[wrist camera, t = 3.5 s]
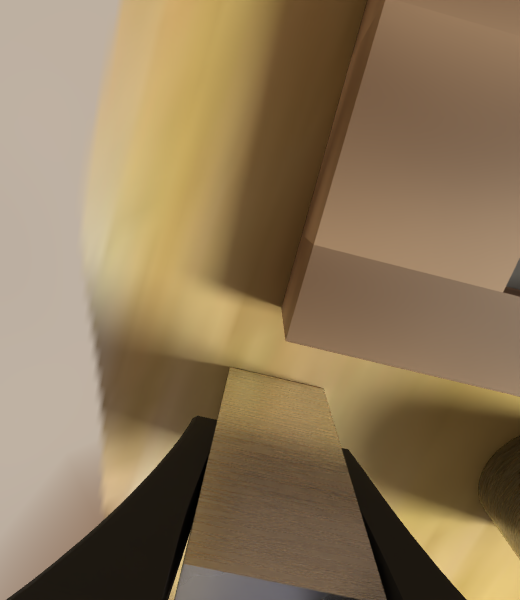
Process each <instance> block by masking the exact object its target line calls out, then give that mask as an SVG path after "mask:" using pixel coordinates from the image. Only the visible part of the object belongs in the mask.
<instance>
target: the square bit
mask: <svg viewBox="0 0 520 600" xmlns="http://www.w3.org/2000/svg"><path fill="white" fill-rule="evenodd" d="M174 600H387V599H386V596H385V592H384V589H383V586H382V582H381V579H380V576H379V572H378V569H377V566H376V562H375V559H374V556H373V552H372V549H371V546H370V542H369V539H368V536H367V532H366V529H365V525H364V522H363V519H362V515H361V512H360V509H359V505H358V502H357V499H356V495H355V492H354V489H353V485H352V482H351V479H350V475H349V472H348V469H347V465H346V462H345V459H344V455H343V452H342V449H341V445H340V442H339V438H338V435H337V432H336V428H335V425H334V422H333V418H332V415H331V412H330V408H329V405H328V402H327V398H326V395H325V392H324V389H322V388H318V387H314V386H309V385H305V384H301V383H297V382H292V381H288V380H284V379H279V378H275V377H271V376H266V375H262V374H258V373H253V372H249V371H245V370H240V369H236V368H232V367H230V370H229V374H228V378H227V382H226V386H225V390H224V394H223V398H222V402H221V406H220V411H219V415H218V419H217V424H216V429H215V433H214V437H213V441H212V446H211V450H210V454H209V458H208V462H207V466H206V470H205V474H204V478H203V482H202V487H201V491H200V495H199V499H198V503H197V507H196V511H195V515H194V519H193V523H192V527H191V531H190V536H189V540H188V544H187V548H186V552H185V557H184V561H183V565H182V569H181V573H180V578H179V582H178V586H177V590H176V594H175V599H174Z"/></svg>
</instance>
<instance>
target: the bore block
mask: <svg viewBox="0 0 520 600" xmlns="http://www.w3.org/2000/svg"><path fill="white" fill-rule="evenodd" d="M282 316H283V324H284V332H285V340H286V341H288V342H292V343H296V344H300V345H304V346H309V347H313V348H317V349H321V350H326V351H330V352H334V353H338V354H342V355H347V356H351V357H355V358H359V359H363V360H368V361H372V362H376V363H380V364H384V365H389V366H393V367H397V368H401V369H406V370H410V371H414V372H418V373H422V374H427V375H431V376H435V377H439V378H443V379H448V380H452V381H456V382H460V383H465V384H469V385H473V386H477V387H481V388H486V389H490V390H494V391H498V392H502V393H507V394H511V395H515V396H519V397H520V0H367V3H366V7H365V10H364V14H363V18H362V21H361V25H360V28H359V32H358V36H357V39H356V43H355V46H354V50H353V53H352V57H351V61H350V64H349V68H348V71H347V75H346V78H345V82H344V86H343V89H342V93H341V96H340V100H339V104H338V107H337V111H336V114H335V118H334V121H333V125H332V129H331V132H330V136H329V139H328V143H327V147H326V150H325V154H324V157H323V161H322V164H321V168H320V172H319V175H318V179H317V182H316V186H315V190H314V193H313V197H312V200H311V204H310V207H309V211H308V215H307V218H306V222H305V225H304V229H303V232H302V236H301V240H300V243H299V247H298V250H297V254H296V258H295V261H294V265H293V268H292V272H291V275H290V279H289V283H288V286H287V290H286V293H285V297H284V301H283V304H282Z"/></svg>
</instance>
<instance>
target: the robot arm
mask: <svg viewBox="0 0 520 600" xmlns="http://www.w3.org/2000/svg"><path fill="white" fill-rule="evenodd" d="M216 424H217V420H214V419H210V418H205V417H201V416H196V417H194V418H193V419H192V421H191V423H190V424H189V426H188V427H187V429H186V430H185V432H184V433H183V435H182V436H181V437H180V439H179V440H178V441H177V443H176V444H175V445H174V447H173V448H172V449H171V450H170V451H169V453H168V454H167V455H166V456H165V457H164V459H163V460H162V461H161V462H160V463H159V464H158V466H157V467H156V468H155V469H154V470H153V471H152V472H151V473H150V475H149V476H148V477H147V478H146V479H145V480H144V481H143V482H142V483H141V484H140V485H139V486H138V487H137V488H136V489H135V490H134V491H133V492H132V493H131V494H130V495H129V496H128V497H127V498H126V499H125V500H124V501H123V502H122V503H121V504H120V505H119V506H118V507H117V508H116V509H115V510H114V511H113V512H112V513H111V514H110V515H109V516H108V517H107V518H106V519H104V520H103V521H102V522H101V523H100V524H99V525H98V526H97V527H96V528H95V529H93V530H92V531H91V532H90V533H89V534H88V535H87V536H85V537H84V538H83V539H82V540H81V541H80V542H79V543H77V544H76V545H75V546H74V547H72V548H71V549H70V550H69V551H68V552H67V553H65V554H64V555H63V556H62V557H61V558H59V559H58V560H57V561H56V562H55V563H53V564H52V565H51V566H50V567H48V568H47V569H46V570H45V571H43V572H42V573H41V574H40V575H38V576H37V577H36V578H35V579H33V580H32V581H31V582H29V583H28V584H27V585H25V586H24V587H23V588H22V589H20V590H19V591H17V592H16V593H15V594H13V595H12V596H11V597H9V598H8V599H7V600H168V599H169V595H170V592H171V589H172V586H173V583H174V580H175V577H176V574H177V571H178V568H179V565H180V562H181V559H182V555H183V552H184V549H185V546H186V543H187V540H188V537H189V534H190V531H191V527H192V523H193V519H194V515H195V511H196V507H197V503H198V499H199V495H200V491H201V487H202V482H203V478H204V474H205V470H206V466H207V462H208V458H209V454H210V450H211V446H212V441H213V437H214V433H215V429H216ZM341 449H342V452H343V455H344V459H345V462H346V465H347V469H348V472H349V475H350V479H351V482H352V485H353V489H354V492H355V495H356V499H357V502H358V505H359V509H360V512H361V515H362V519H363V522H364V525H365V529H366V532H367V536H368V539H369V542H370V546H371V549H372V552H373V556H374V559H375V562H376V566H377V569H378V572H379V576H380V579H381V582H382V586H383V589H384V592H385V596H386V599H387V600H466V599H465V598H464V596H463V595H462V594H461V593H460V592H459V591H458V590H457V589H456V588H455V587H454V585H453V584H452V583H451V582H450V581H449V580H448V579H447V577H446V576H445V575H444V574H443V573H442V572H441V570H440V569H439V568H438V567H437V566H436V564H435V563H434V562H433V561H432V560H431V558H430V557H429V556H428V555H427V553H426V552H425V551H424V550H423V548H422V547H421V546H420V545H419V544H418V542H417V541H416V540H415V539H414V537H413V536H412V535H411V534H410V532H409V531H408V530H407V528H406V527H405V526H404V525H403V523H402V522H401V521H400V519H399V518H398V517H397V515H396V514H395V513H394V511H393V510H392V509H391V507H390V506H389V505H388V503H387V502H386V501H385V499H384V498H383V497H382V495H381V494H380V492H379V491H378V490H377V488H376V487H375V486H374V484H373V483H372V481H371V480H370V479H369V477H368V476H367V474H366V473H365V472H364V470H363V469H362V467H361V466H360V465H359V463H358V462H357V461H356V459H355V458H354V456H353V455H352V454H351V453H350V451H349V450H348V449H344V448H341Z"/></svg>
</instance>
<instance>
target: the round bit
mask: <svg viewBox="0 0 520 600" xmlns="http://www.w3.org/2000/svg"><path fill="white" fill-rule="evenodd" d="M478 490H479V498H480V502H481V504H482V506H483V508H484V510H485V511H486V513H487V514H488V515H489V517H490V518H491V520H492V521H493V522H494V524H495V525H496V527H497V528H498V529H499V531H500V532H501V534H502V535H503V537H504V538H505V539H506V541H507V542H508V544H509V545H510V546H511V548H512V549H513V551H514V552H515V553H516V555H517V556H518V558H519V559H520V436H518V437H516V438H514V439H513V440H511V441H510V442H508V443H507V444H505V445H504V446H503V447H501V448H500V449H499V450H498V451H497V452H496V453H495V454H494V455H493V456H492V458H491V459H490V460H489V461H488V463H487V464H486V466H485V468H484V470H483V472H482V474H481V477H480V480H479V487H478Z"/></svg>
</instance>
